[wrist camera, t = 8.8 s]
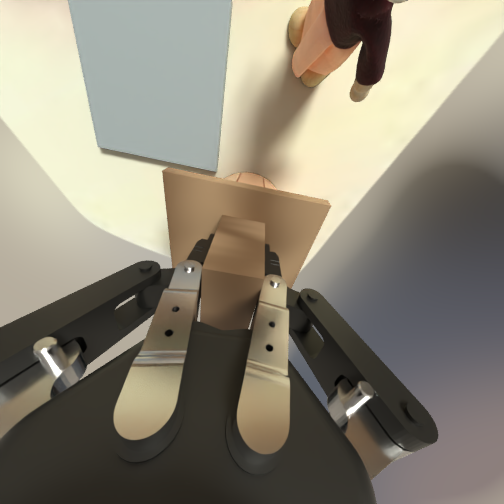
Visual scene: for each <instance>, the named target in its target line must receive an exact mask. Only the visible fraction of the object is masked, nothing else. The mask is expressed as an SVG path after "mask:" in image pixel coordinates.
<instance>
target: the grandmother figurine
mask: <svg viewBox="0 0 504 504" xmlns="http://www.w3.org/2000/svg"><path fill="white" fill-rule="evenodd" d="M405 1H408V0H312V1H311V3H310V5H309V7H300V8H298V9H297V10H295V11H294V13H293V14H292V16H291V18H290V21H289V27H288V30H289V39H290V41H291V43H292V44H293V45H294V46H295V47H297V48H296V50H295V52H294V54H293V58H292V69H293V72H294V74H295V76H296V77H298V78H299V77H300V76H301V79H302V82H303V83H304V85H306V86H307V87H314V86H316V85H317V84H319V83H320V82H321V81H322V80H323V79H324V78H325V77H326V76H327V75H328V74H329V73H331V72H333V71H334V70H336V69H337V68H339V67H340V66H341V65H342V64H343V63H344V62H345V61H346V60H347V59H348V57H349V56H350V55H351V54H352V53H353V51H354V50H355V49H356V47H357V46H358V45H359V43H360V42H361V41H362V42H363V44H362V47H361V50H360V54H359V57H358V63H357V70H356V78H355V81H354V84H353V86H352V88H351V90H350V98H351V100H352V101H354V102H360V101H362V100H363V99H364V98H365V97H366V96H367V95H368V93H369V90H370V89H371V88H372V86H373V85H374V84H376V83H377V82H379V81H380V79H381V78H382V75H383V73H384V69H385V62H386V57H387V52H388V48H389V43H390V36H391V26H392V20H391V11H392V7H393V4H394V3H402V2H405Z"/></svg>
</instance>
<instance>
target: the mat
mask: <svg viewBox="0 0 504 504" xmlns="http://www.w3.org/2000/svg"><path fill="white" fill-rule="evenodd" d="M68 3H69V8H70V13H71V18H72V23H73V28H74V33H75V37H76V42H77V47H78V52H79V57H80V62H81V67H82V72H83V77H84V81H85V86H86V91H87V96H88V101H89V106H90V111H91V116H92V121H93V125H94V130H95V135H96V140H97V145H98V147H101V148H105V149H110V150H115V151H120V152H124V153H129V154H134V155H138V156H143V157H148V158H153V159H157V160H162V161H167V162H172V163H176V164H181V165H186V166H191V167H195V168H200V169H205V170H209V171H214V172H216V171H217V168H218V157H219V146H220V135H221V124H222V113H223V102H224V91H225V80H226V69H227V58H228V47H229V35H230V24H231V13H232V0H68Z"/></svg>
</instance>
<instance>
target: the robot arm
mask: <svg viewBox="0 0 504 504" xmlns="http://www.w3.org/2000/svg"><path fill="white" fill-rule="evenodd" d="M214 236H215V234H212V233H211V234H210V236H209V238H208V240H207V239H201V240H199V241H197V243H196V244H195V246H194V248H193V250H192V251H191V253H190V254H189V256H188V258H187V259H186V260H185V261H181V262H180V263H178V264H177V266H176V268H171V269H160V265H159V264H158V263H157V262H154V261H141V262H138V263H135V264H133V265H131V266H129V267H127V268H125V269H123V270H121V271H119V272H116V273H114V274H112V275H110V276H108V277H106V278H104V279H102V280H99V281H98V282H95V283H93V284H91V285H89V286H87V287H85V288H83V289H80V290H78V291H77V292H74V293H72V294H70V295H68V296H66V297H64V298H61V299H59V300H57V301H55V302H53V303H51V304H49V305H47V306H45V307H43V308H41V309H38V310H36V311H34V312H32V313H30V314H28V315H26V316H24V317H21V318H19V319H17V320H15V321H13V322H11V323H9V324H7V325H4V326H3V327H0V504H377V503H376V498H375V494H374V490H373V486H372V483H371V480H372V479H373V478H374V477H375V476H377V475H378V474H379V473H380V472H381V471H382V470H383V469H384V468H386V467H387V466H388V465H389V464H390V463H391V462H394V461H396V460H398V459H400V458H402V457H404V456H407V455H409V454H411V453H413V452H416V451H418V450H420V449H422V448H424V447H427V446H429V445H431V444H433V443H435V442H436V441H437V439H438V430H437V427H436V424H435V422H434V421H433V419H432V417H431V415H430V414H429V413H428V411H427V410H426V409H425V408H424V407H423V405H421V403H420V402H419V401H418V400H417V399H416V398H415V397H414V396H413V395H412V394H411V392H410V391H409V390H408V389H407V388H406V387H405V386H404V385H403V384H402V383H401V381H400V380H399V379H398V378H397V377H396V376H395V375H394V374H393V373H392V372H391V370H390V369H389V368H388V367H387V366H386V365H385V364H384V363H383V362H382V361H381V360H380V358H379V357H378V356H377V355H376V354H375V353H374V352H373V351H372V350H371V349H370V348H369V346H367V344H366V343H365V342H364V341H363V340H362V339H361V338H360V337H359V336H358V334H357V333H356V332H355V331H354V330H353V329H352V328H351V327H350V326H349V325H348V323H347V322H346V321H345V320H344V319H343V318H342V317H341V316H340V315H339V314H338V312H337V311H335V309H334V308H333V307H332V306H331V305H330V304H329V303H328V302H327V300H326V299H325V298H324V297H323V296H322V295H321V294H320V293H318V292H317V291H315V290H312V289H303V290H302V291H301V292H300V293H299V292H297V291H294V290H292V289H290V288H289V287H287V283H286V281H285V280H284V279H283V278H282V275H281V268H280V262H279V257H278V255H277V254H276V253H275V252H271V251H270V246H269V244H265V279H264V282H263V285H262V288H261V291H260V294H259V297H258V300H257V303H256V307H255V310H254V314H253V319H252V323H251V327H250V330H249V329H234V330H220V329H218V328H215V327H213V326H210V325H208V324H205V323H203V322H198V321H197V317H198V310H199V304H200V298H201V281H202V267H203V264H204V261H205V259H206V256H207V254H208V251H209V249H210V246H211V243H212V241H213V238H214ZM133 295H135V298H133V299H132V300H130V301H128V302H127V303H125V304H124V305H122V306H120V307H119V308H117V309H116V310H115V308H116V307H117V306H118V305H119V304H120V303H122V302H123V301H125V300H127V299H128V298H130V297H132V296H133ZM152 315H154V317H153V319H152V322H151V325H150V328H149V330H148V333H147V335H146V338H145V339H144V340H142V341H141V342H139V343H138V344H136V345H134V346H133V347H131V348H130V349H128V350H127V351H125V352H123V353H122V354H121V355H119V356H117V357H116V358H114V359H113V360H111V361H109V362H108V363H106V364H105V365H103V366H102V367H100V368H99V369H97V370H95V371H94V372H93V373H91V374H89V375H88V376H86V377H84V378H83V379H81V380H80V381H79V379H80V378H81V377H82V376H83V374H84V373H85V371H86V368H87V365H88V364H90V363H91V362H92V361H93V360H95V359H96V358H97V357H99V356H100V355H101V354H103V353H104V352H105V351H107V350H108V349H109V348H110V347H112V346H113V345H114V344H116V343H117V342H118V341H120V340H121V339H122V338H123V337H125V336H126V335H127V334H129V333H130V332H131V331H133V330H134V329H135V328H137V327H138V326H139V325H140V324H142V323H143V322H144V321H146V320H147V319H148V318H150V317H151V316H152ZM313 325H314V326H315V327H316V329H317V330H318V331H319V333H320V334H321V335H322V337H323V340H324V342H323V340H322V339H321V338H320V336H319V335H318V334H317V332H316V331H315V330H314V328H313V327H312V326H313ZM289 334H290V336H291V337H292V339H293V341H294V342H295V344H296V345H297V347H298V349H299V351H300V352H301V354H302V355H303V357H304V359H305V360H306V362H307V364H308V365H309V367H310V369H311V370H312V372H313V374H314V375H315V377H316V378H317V380H318V382H319V383H320V385H321V387H322V388H323V390H324V391H325V393H326V395H327V397H328V399H327V405H328V409H329V413H328V411H327V410H326V409H325V407H324V406H323V405H322V404H321V402H320V401H319V399H318V398H317V397H316V395H315V394H314V393H313V391H312V390H311V389H310V388H309V386H308V385H307V383H306V382H305V381H304V379H303V378H302V377H301V376H300V374H299V373H298V371H297V370H296V369H295V367H294V366H293V365H292V363H291V362H290V361H289V359H288V336H289Z"/></svg>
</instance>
